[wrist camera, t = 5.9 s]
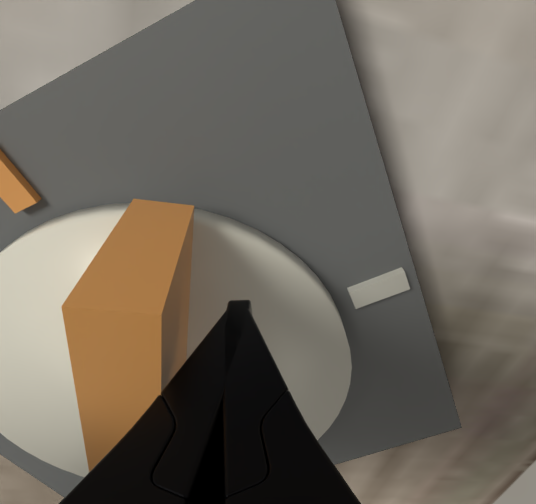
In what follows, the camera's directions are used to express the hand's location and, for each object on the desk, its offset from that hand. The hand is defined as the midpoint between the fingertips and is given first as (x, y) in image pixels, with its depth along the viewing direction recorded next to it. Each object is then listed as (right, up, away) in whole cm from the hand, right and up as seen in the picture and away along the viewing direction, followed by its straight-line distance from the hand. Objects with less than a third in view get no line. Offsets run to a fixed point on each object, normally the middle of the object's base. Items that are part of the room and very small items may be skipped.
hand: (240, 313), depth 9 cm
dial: (-3, -3, +5) cm, 7 cm away
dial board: (-3, -2, +7) cm, 8 cm away
